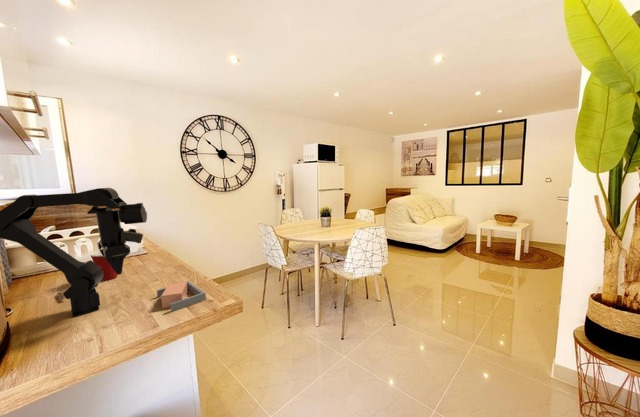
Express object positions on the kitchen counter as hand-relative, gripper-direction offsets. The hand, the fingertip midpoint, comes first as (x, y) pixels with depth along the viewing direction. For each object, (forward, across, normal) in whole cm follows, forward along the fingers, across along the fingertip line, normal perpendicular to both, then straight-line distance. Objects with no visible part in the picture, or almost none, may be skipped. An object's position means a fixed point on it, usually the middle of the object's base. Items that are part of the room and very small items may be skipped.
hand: (116, 271), depth 86 cm
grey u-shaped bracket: (+13, -10, -15) cm, 23 cm away
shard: (+12, +25, +11) cm, 29 cm away
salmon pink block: (+13, -10, -14) cm, 21 cm away
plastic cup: (+12, +35, -1) cm, 37 cm away
